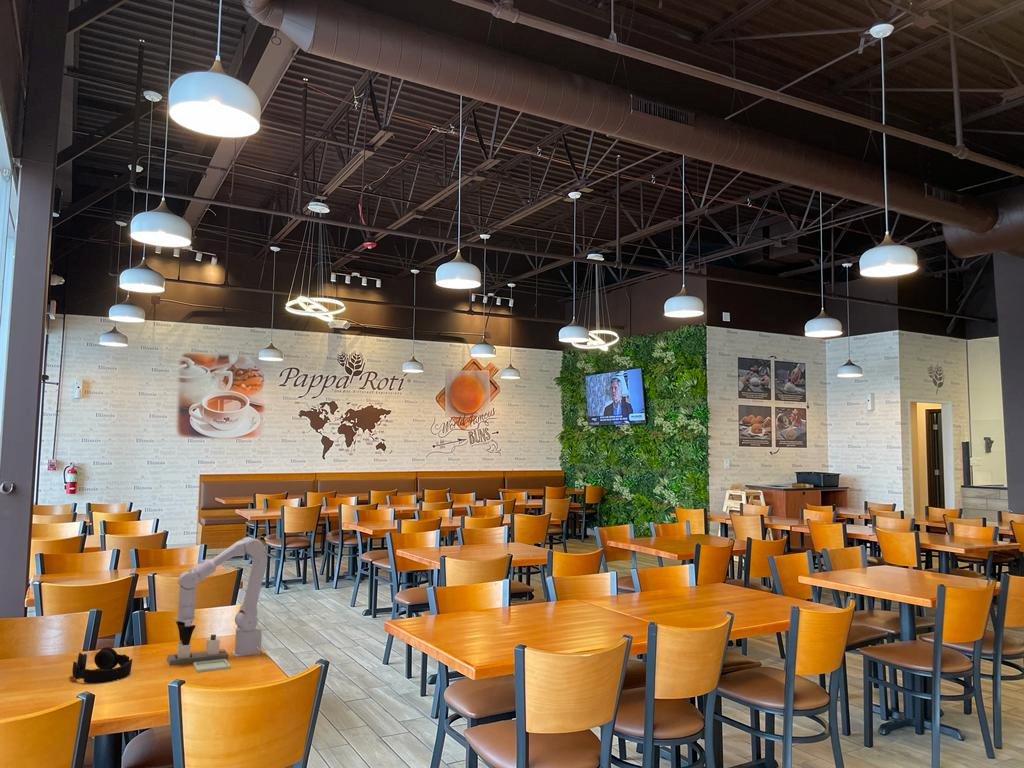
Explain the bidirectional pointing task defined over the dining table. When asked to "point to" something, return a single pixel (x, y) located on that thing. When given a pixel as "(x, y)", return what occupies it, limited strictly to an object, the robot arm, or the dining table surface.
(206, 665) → the tray
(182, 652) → the plug
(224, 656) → the power strip
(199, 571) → the robot arm
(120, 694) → the dining table surface
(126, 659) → the headphones
